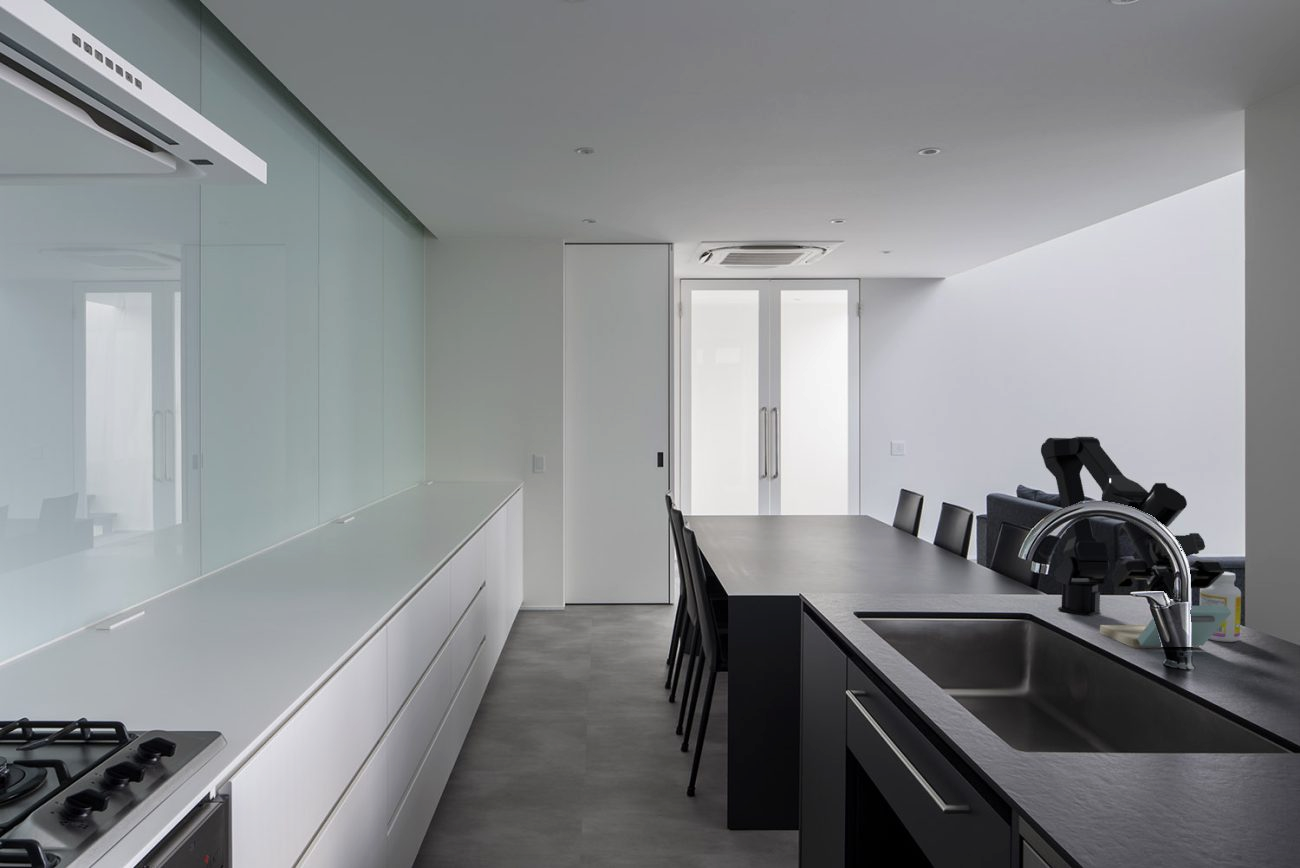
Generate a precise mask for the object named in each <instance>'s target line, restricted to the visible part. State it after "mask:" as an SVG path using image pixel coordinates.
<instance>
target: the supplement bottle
mask: <svg viewBox="0 0 1300 868" xmlns="http://www.w3.org/2000/svg"><path fill="white" fill-rule="evenodd" d="M1236 579H1237V578H1236V573H1234V572H1230V571H1224V573H1223V574H1222V575H1221V576H1220V577H1219V578H1218V579H1217V580H1216V581H1215V582H1214V583H1213V584H1212V585H1211V586H1210V587H1207V588H1199V606H1227V607H1228V608H1229V610H1230V611H1231V614H1230V615H1229V616H1228V617H1227V618H1226V620H1225V621H1224V622H1223V623H1222V624H1221V625H1220V626H1219V628H1218V629H1217V630H1216V631H1215V632H1214V633H1213V635H1212V636H1211V637H1210V638H1209V639H1208V640H1211V641H1215V642H1223V643H1233V642H1234V643H1236V642H1237V641H1239V640H1240V638H1241V637H1240V636H1241V615H1242V613H1241V612H1242V611H1241V610H1242V609H1241V607H1242V592H1241V589H1240V588H1238V587H1237V586H1235V582H1236Z"/></svg>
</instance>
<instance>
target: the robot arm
mask: <svg viewBox="0 0 1300 868" xmlns="http://www.w3.org/2000/svg"><path fill="white" fill-rule="evenodd" d="M1040 454H1041V456H1042V459H1043V462H1044V466H1045V467H1046V469H1047V470H1048V471H1049V472H1050V473H1051V475H1052V476H1054V478H1055V480H1056V486H1057V490H1058V496H1059V500H1060V504H1061V505H1060V506H1061V509H1062V508H1065V507H1068V506H1071V505H1073V504H1076V503H1078V502H1080V501H1083V500H1086V496H1085V491H1084V487H1083V483H1082V478H1081V472H1082V469H1083V467H1084V468H1085V469H1086V470H1087V472H1088V473H1089V474H1090V476H1091V477H1092V478H1093V480H1094V481H1095V482H1096V484H1097V485H1098V486H1099V487H1100V489H1101V492H1102V494H1101V499H1100V500H1101V501H1108V502H1115V503H1120V504H1124V505H1128V506H1132V507H1135V508H1137V509H1139V510H1141V511H1143V512H1145V513H1148V514H1150V515H1152V516H1153V517H1155V518H1156V519H1157V520H1158V521H1160V522H1161V523H1162V524H1164V525H1165V526H1166V528H1168V527H1170V526H1171V525H1172V523H1173V522H1174V521H1175V520H1176V519H1177V518H1178V517H1179V515H1180V514H1181V513H1182V512H1183V511H1184V509H1186V507H1187V505H1188V503H1187V502H1188V501H1187V499H1186V497H1185V496H1184V495H1183V494H1181V493H1180V492H1179V491H1178V490H1175V489H1174V488H1171V487H1168V485H1167V483H1166V482H1155V483H1154V484H1153V485H1152V487H1151V489H1150V490H1149V492H1148V490H1147V489H1145V487H1143V486H1142V485H1141V484H1139V483H1138V482H1136V481H1134V480H1132V479H1129V478H1127V477H1126V476H1125V475H1124V473H1122V471H1121V470H1120V469H1119V467H1118V466H1117V465H1116V464H1115V463H1114V461H1113V460H1112V459H1111V458H1110V456H1109V455H1108V453H1107V452H1106V451H1105V450H1104V449H1103V447H1102V446H1101V442H1100V440H1099V439H1098V438H1097V437H1094V436H1075V437H1048V438H1047V439H1046V440H1045V441H1044V442H1043V443H1042V445H1041V447H1040ZM1120 524H1121V526H1120V528H1119V529H1118V536H1119V537H1128V539H1129V541H1130V543H1131V544H1132V546H1133V548H1134V550H1135V552H1134V553H1133V554H1132V557H1133V559H1123V560H1122V561H1121V563H1120V564H1118V566H1117V567H1116V568H1115V569H1114V571H1113V572H1112V573H1111V577H1110V578H1111V581H1112V584H1113V586H1114V587H1115V588H1116V589H1130V588H1131V587H1132V585H1133V583H1134V582H1133V580H1132V579H1135V580H1146V583H1147V585H1146V586H1145V587H1144V590H1145V591H1146V592H1147V591H1164V592H1165V593H1167V595H1168V597H1169V598H1170V599H1173V597H1174V593H1173V589H1174V574H1173V571H1172V568H1171V565H1170V562H1169V559H1168V558H1167V556H1166V554H1165V552H1164V551H1163V549H1162V547H1161V545H1160V544H1159V543H1158V541H1157V540H1156V539H1155V538H1153V537H1152V536H1151V535H1149V534H1148V533H1146V532H1144V531H1143V530H1141V529H1140V528H1139V527H1137V526H1136V525H1134V524H1132V523H1129V522H1127V521H1126V520H1125V522H1121V523H1120ZM1065 530H1066V529H1065ZM1066 535H1067V542H1066V545H1065V546H1064V549H1063V552H1062V557H1063V560H1062V562H1060V564H1059V565H1058V567H1057V568H1056V569H1055V570H1054V575H1055V576H1054V577H1055V581H1056V582H1058V583H1061V584H1062V585H1061V586H1062V587H1061V588H1062V589H1061V606H1060V607H1057V610H1058V611H1061V612H1068V613H1072V614H1078V615H1084V616H1087V617H1088V616H1092V615H1095V614H1097V613H1100V612H1101V609H1100V608H1101V607H1100V603H1101V592H1100V591H1099V586H1106V582H1107V578H1108V576H1109V572H1110V568H1111V564H1110V557H1109V554H1108V550H1107V545H1106V543H1105V542H1104V541H1098V539H1097V538H1095V537H1094V534H1093V529H1092V524H1091V520H1090V518H1089V519H1084V520H1081V521H1078V522H1076V523H1075V524H1074V525H1072V526H1071V527H1070V528H1068V529H1067V530H1066ZM1174 536H1175V537H1176V539H1177V540H1178V541H1179V543H1180V544H1181V546H1182V548H1183V550H1184V552H1185V554H1186V556H1187V557H1189V556H1192V555H1198V554H1199V553H1200V551H1204V550H1205V548H1206V545H1205V541H1204V539H1203V538H1202V535H1200V533H1197V532H1190V533H1189V534H1184V535H1179V534H1177V535H1176V534H1175V535H1174ZM1180 548H1181V547H1180ZM1181 551H1182V550H1181ZM1189 568H1190V574H1191V588H1190V589H1200V588H1207V587H1210V586H1211V585H1212V584H1213V583H1214V582H1215V581H1216V580H1217V579H1218V578H1219V577H1220V576H1221V575H1222V574H1223V573H1224V572H1225V570H1224V569H1223V567H1222V565H1221V564H1220V562H1219V561H1217V560H1195V562H1193V564H1192V565H1190V567H1189Z"/></svg>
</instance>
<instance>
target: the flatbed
mask: <svg viewBox="0 0 1300 868" xmlns="http://www.w3.org/2000/svg"><path fill="white" fill-rule="evenodd" d="M1147 625H1148V624H1100V625H1099V634H1100V635H1103V636H1106V637H1108V638H1110V639H1112V640H1114V641H1117V642H1120V643H1121V644H1124V645H1126V646H1128V647H1131V648H1134V649H1136V648H1137V649H1139V648H1141V649H1143V648H1147V649H1149V648H1151V649H1155V648H1157V649H1159V648H1161V646H1141V645H1140V643H1139V641H1138V639H1137V638H1138V637H1139V636H1140V634H1141V633H1142V632H1143V631H1144V629H1145V628H1146V627H1147ZM1193 648H1198V649H1199V648H1200V646H1193ZM1193 648H1192V649H1193ZM1161 649H1162V648H1161Z"/></svg>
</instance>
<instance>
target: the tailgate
mask: <svg viewBox="0 0 1300 868" xmlns="http://www.w3.org/2000/svg"><path fill="white" fill-rule="evenodd" d="M1191 608H1192V609H1191V610H1190V614H1191V622H1192V646H1199V647H1200V646H1201V647H1202V646H1204V645H1205V644H1206V643H1207V642H1208V640H1210V639H1209V638H1210V637H1211V636H1212V635H1213V633H1214V632H1215V631H1216V630H1217V629H1218V628H1219V626H1220V625H1221V624H1222V623H1223V622H1224V621H1225V620H1226V618H1227V617H1228V616H1229V615H1230V614H1231V611H1230V610H1229V608H1228V607H1227V606H1200V605H1191ZM1146 625H1147V627H1146V628H1145V629H1144V631H1143V632H1142V633H1141V634H1140V636H1139V637H1138V638H1137V639H1138V641H1139V643H1140V645H1141V646H1161V642H1160V639H1159V635H1158V631H1157V627H1156V624H1155V621H1154V617H1153V618H1152V619H1151V620H1150V621H1149V622H1148V624H1146Z"/></svg>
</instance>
